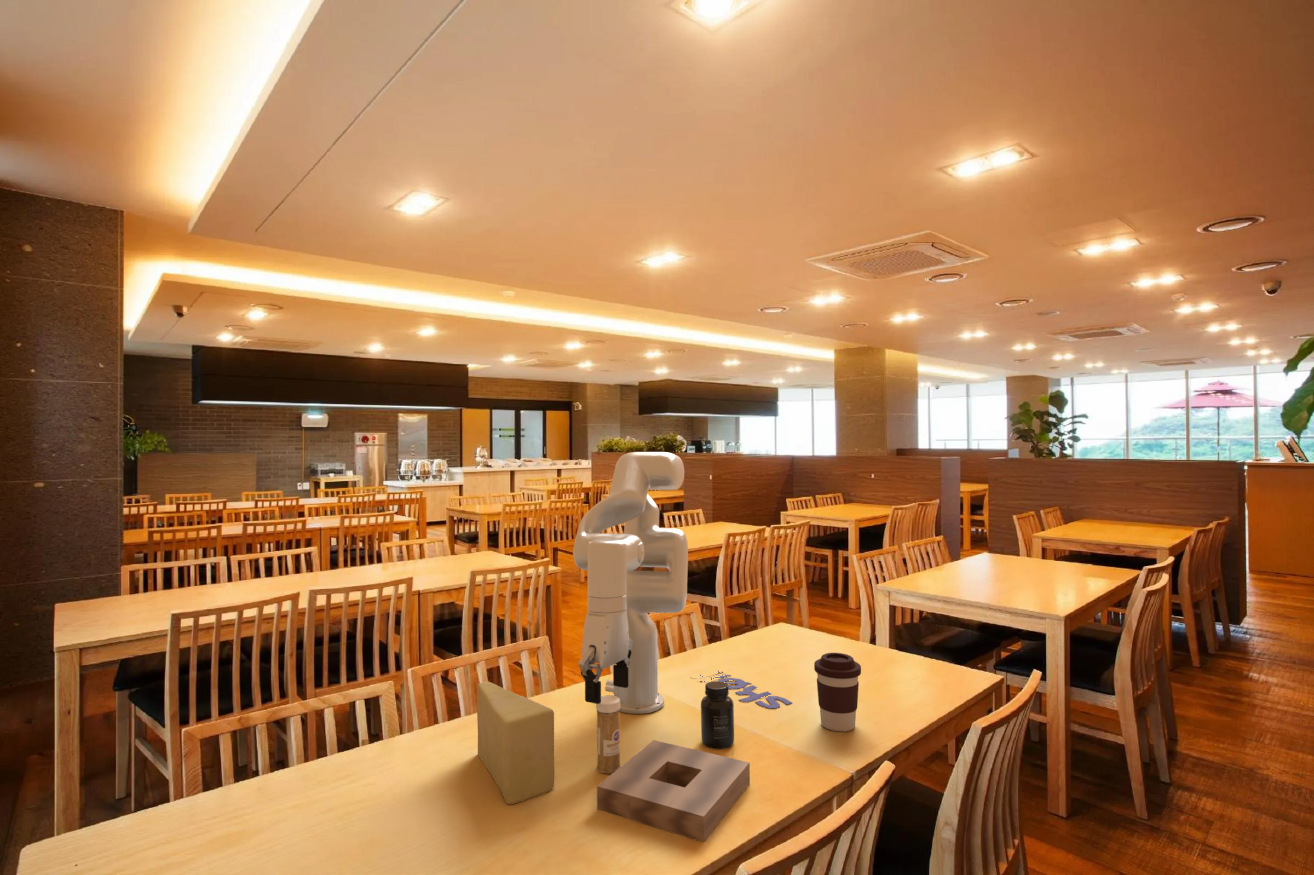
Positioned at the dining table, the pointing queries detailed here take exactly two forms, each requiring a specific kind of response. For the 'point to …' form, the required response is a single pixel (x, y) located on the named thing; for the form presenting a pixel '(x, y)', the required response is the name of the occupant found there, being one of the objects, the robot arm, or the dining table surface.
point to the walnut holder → (675, 789)
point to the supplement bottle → (717, 716)
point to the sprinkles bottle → (608, 734)
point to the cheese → (515, 742)
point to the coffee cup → (837, 690)
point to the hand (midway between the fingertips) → (607, 694)
